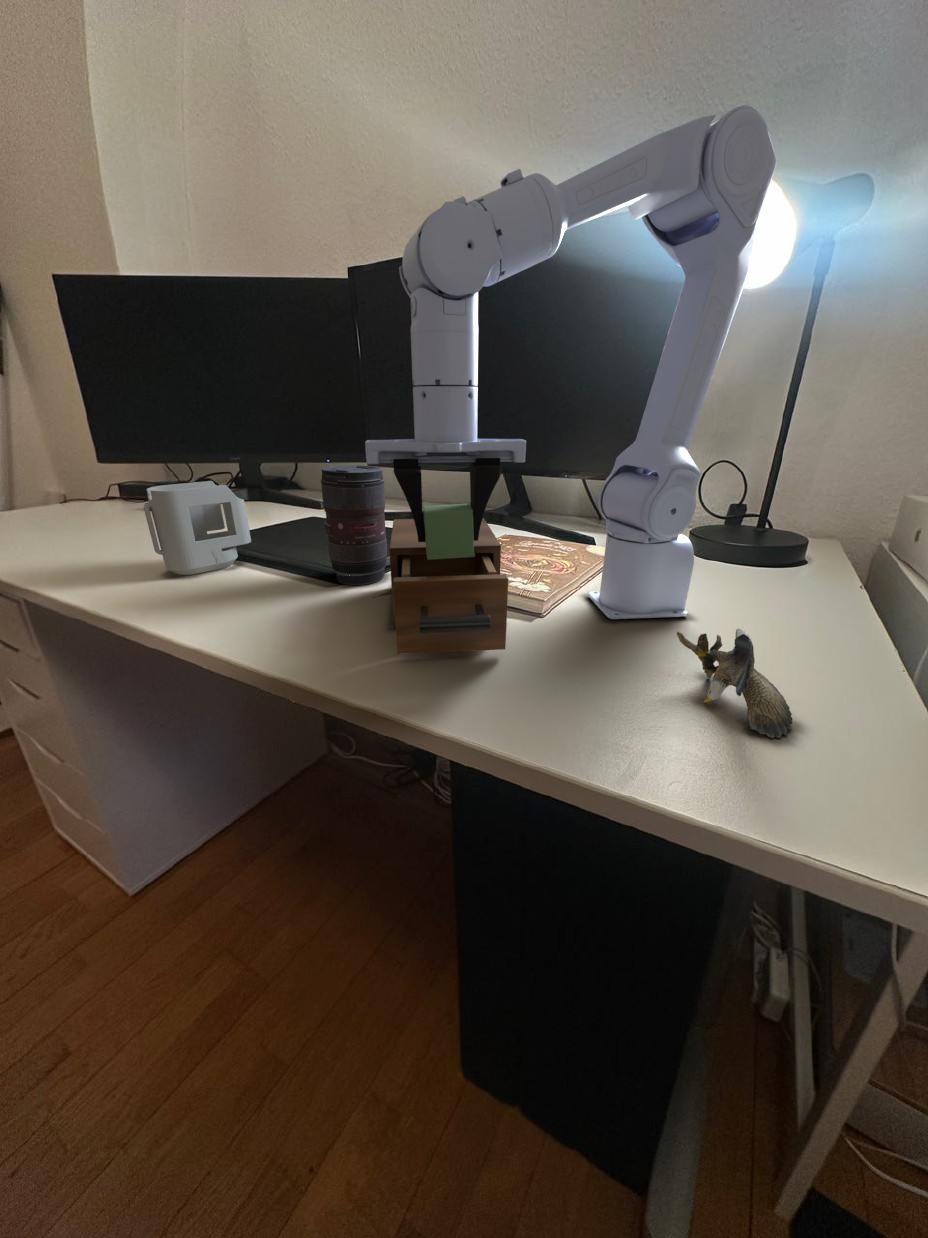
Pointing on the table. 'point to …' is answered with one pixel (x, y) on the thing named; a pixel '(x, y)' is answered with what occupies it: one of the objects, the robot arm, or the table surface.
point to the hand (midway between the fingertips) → (447, 538)
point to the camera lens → (355, 522)
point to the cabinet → (407, 544)
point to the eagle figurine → (743, 682)
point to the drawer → (450, 605)
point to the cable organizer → (196, 526)
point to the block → (448, 531)
